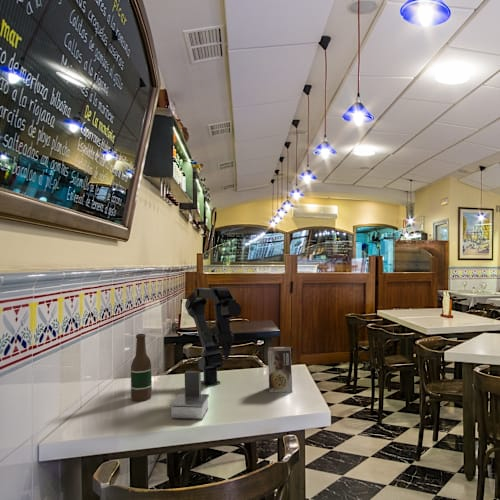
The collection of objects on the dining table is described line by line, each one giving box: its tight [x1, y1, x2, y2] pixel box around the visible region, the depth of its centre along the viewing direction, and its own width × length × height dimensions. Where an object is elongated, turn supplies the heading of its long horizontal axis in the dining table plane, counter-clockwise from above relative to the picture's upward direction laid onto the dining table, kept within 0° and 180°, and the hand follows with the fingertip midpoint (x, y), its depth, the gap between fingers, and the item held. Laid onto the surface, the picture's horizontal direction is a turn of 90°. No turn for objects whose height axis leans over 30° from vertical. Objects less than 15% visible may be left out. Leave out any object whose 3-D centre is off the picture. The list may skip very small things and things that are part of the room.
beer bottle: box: [130, 333, 153, 403], centre depth 141 cm, size 8×8×24 cm
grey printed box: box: [267, 346, 293, 393], centre depth 146 cm, size 9×6×16 cm
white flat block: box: [170, 398, 209, 421], centre depth 124 cm, size 9×10×4 cm
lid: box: [170, 370, 210, 407], centre depth 125 cm, size 10×11×9 cm
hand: (226, 359), depth 145 cm, fingers closed
